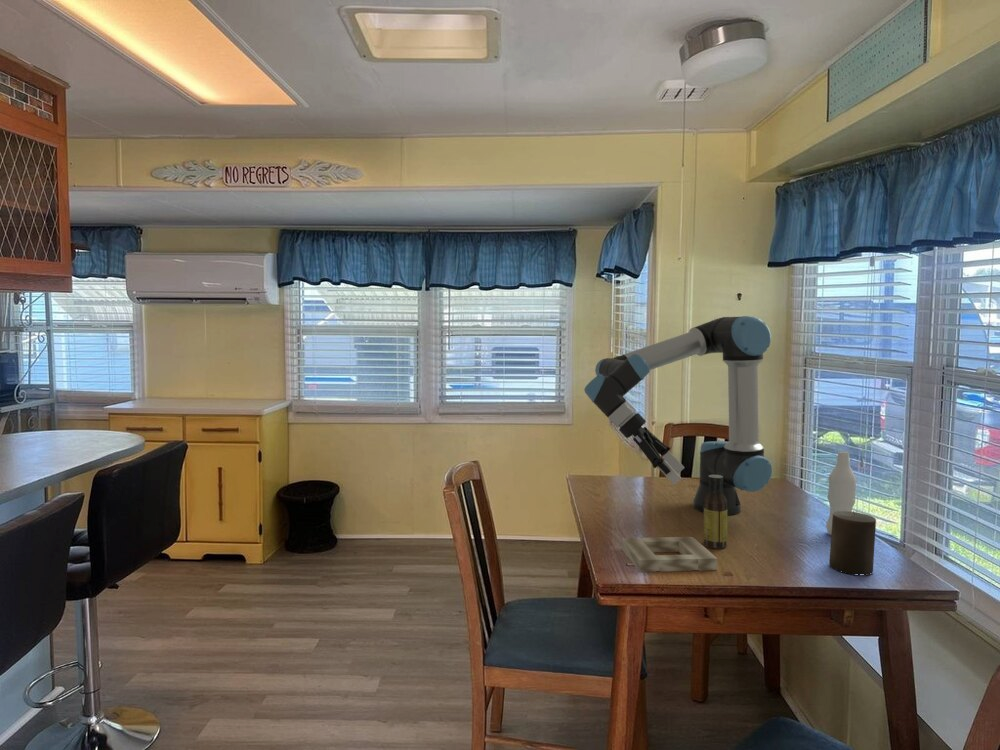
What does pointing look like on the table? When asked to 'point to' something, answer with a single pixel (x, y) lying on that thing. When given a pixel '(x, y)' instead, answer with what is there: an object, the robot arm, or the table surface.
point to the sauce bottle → (715, 514)
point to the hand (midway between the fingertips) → (679, 476)
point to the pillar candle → (852, 542)
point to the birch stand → (689, 559)
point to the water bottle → (841, 487)
